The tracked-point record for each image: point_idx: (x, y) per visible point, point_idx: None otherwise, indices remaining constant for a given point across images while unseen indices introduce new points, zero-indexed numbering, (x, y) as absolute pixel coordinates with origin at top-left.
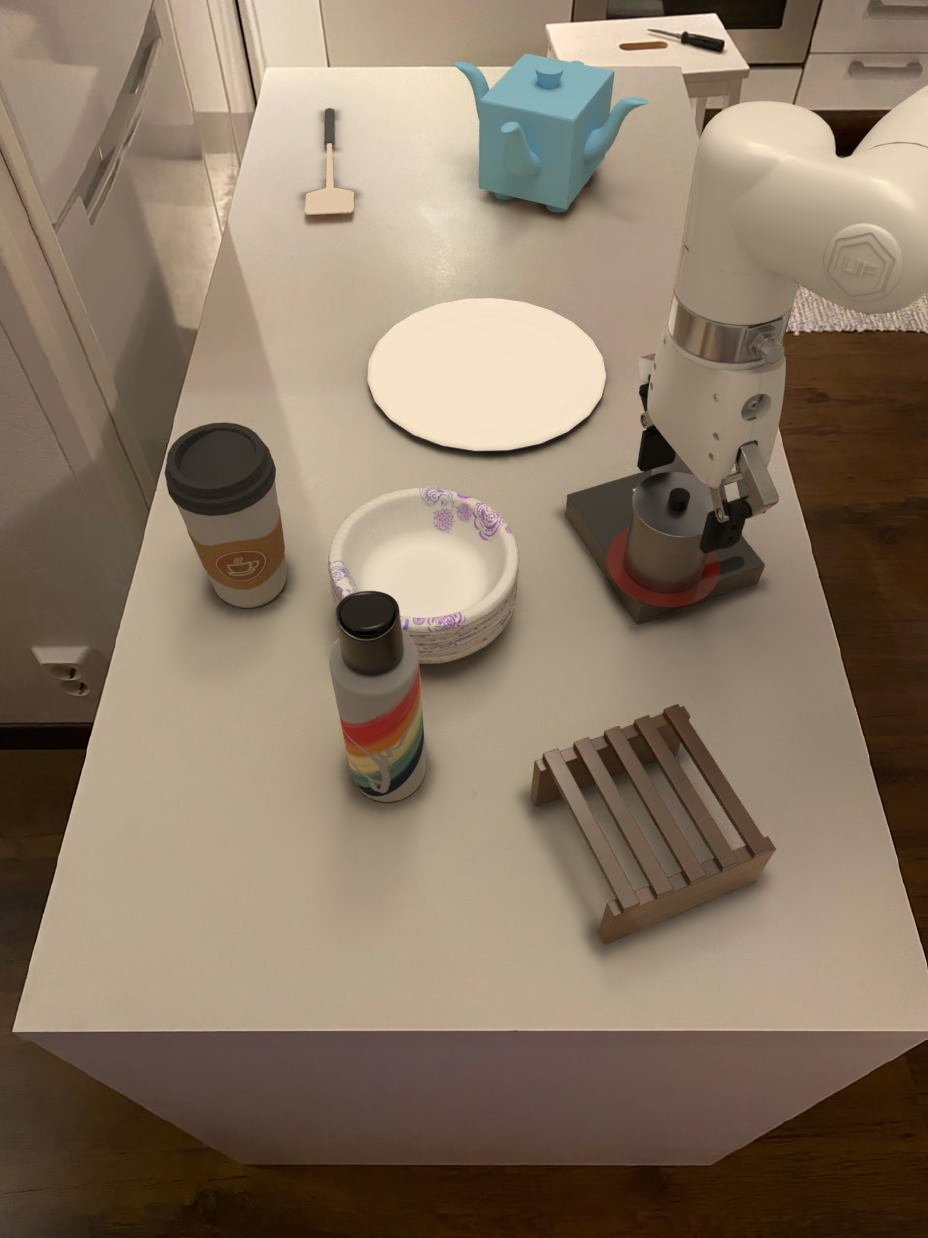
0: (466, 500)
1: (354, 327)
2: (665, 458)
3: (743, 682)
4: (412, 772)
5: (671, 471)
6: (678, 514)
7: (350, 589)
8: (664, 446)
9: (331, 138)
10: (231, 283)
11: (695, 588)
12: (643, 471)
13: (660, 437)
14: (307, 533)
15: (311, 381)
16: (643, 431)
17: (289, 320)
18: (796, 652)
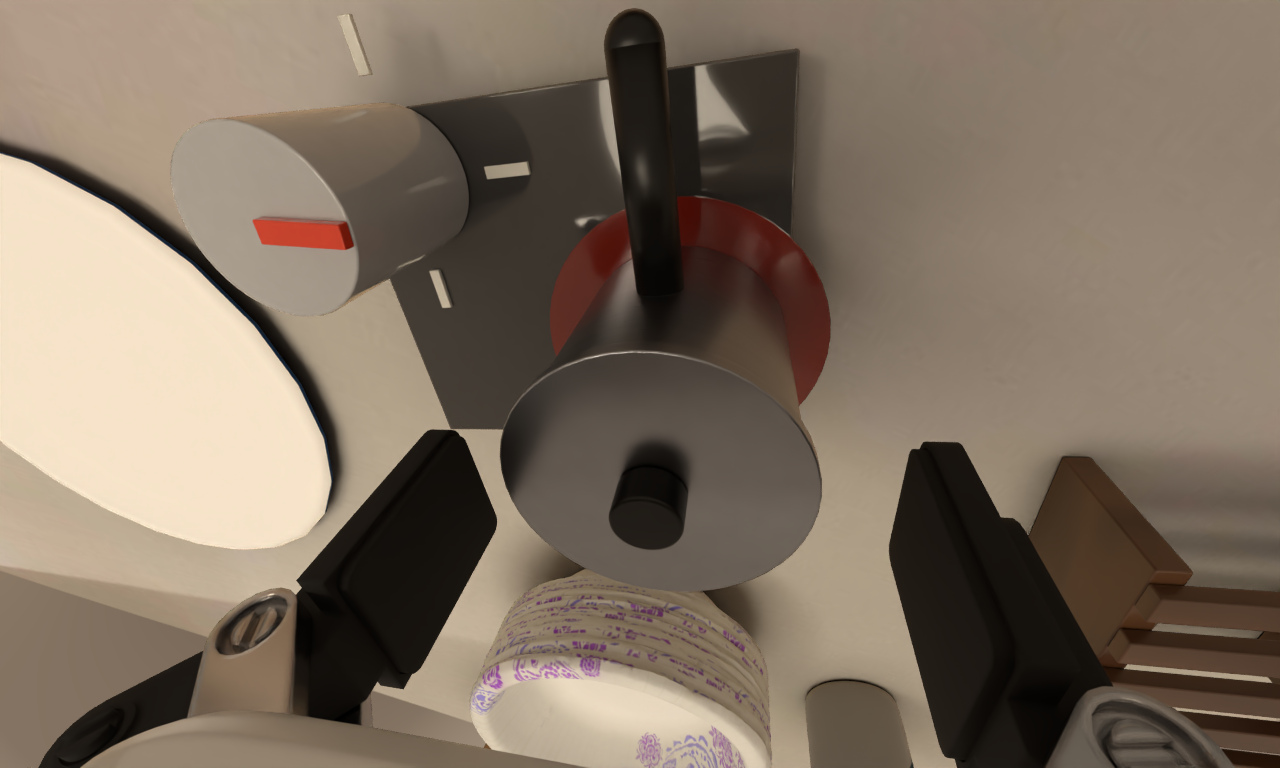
0: (507, 684)
1: (83, 504)
2: (458, 488)
3: (1050, 261)
4: (911, 761)
5: (413, 258)
6: (703, 514)
7: None
8: (428, 553)
9: None
10: (57, 583)
11: (791, 308)
12: (496, 521)
13: (405, 624)
14: (485, 650)
15: (217, 574)
16: (383, 683)
17: (103, 558)
18: (1078, 58)
